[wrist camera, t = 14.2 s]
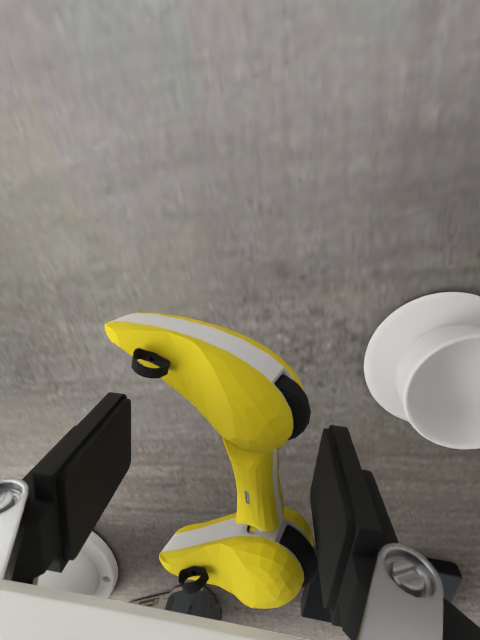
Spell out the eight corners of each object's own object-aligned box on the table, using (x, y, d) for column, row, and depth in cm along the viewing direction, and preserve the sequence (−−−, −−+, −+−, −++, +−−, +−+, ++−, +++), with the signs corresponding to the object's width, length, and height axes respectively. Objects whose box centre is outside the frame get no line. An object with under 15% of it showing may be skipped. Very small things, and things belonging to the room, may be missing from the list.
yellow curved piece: (335, 561, 12) (308, 673, 9) (197, 507, 15) (143, 579, 12) (326, 303, 9) (283, 348, 6) (159, 300, 12) (78, 330, 9)
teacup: (406, 441, 25) (432, 490, 21) (335, 342, 23) (348, 373, 19) (542, 377, 22) (607, 418, 18) (474, 259, 20) (527, 272, 16)
